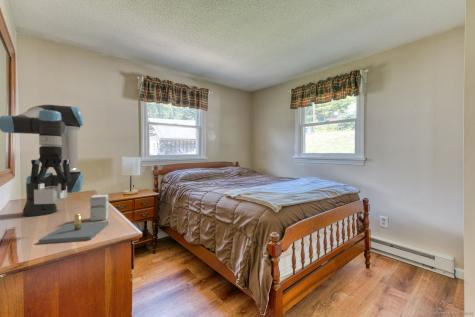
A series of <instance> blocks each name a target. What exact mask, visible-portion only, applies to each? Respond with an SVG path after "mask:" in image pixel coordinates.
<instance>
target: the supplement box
mask: <svg viewBox="0 0 475 317" xmlns="http://www.w3.org/2000/svg"><path fill="white" fill-rule="evenodd" d="M89 199H90V200H89V201H90V203H89V205H90V207H89V208H90V210H89V211H90V215H89V218H90V222H97V221H107V219H108V217H109V194H106V193H105V194H94V195H92V196H91V197H90V198H89Z"/></svg>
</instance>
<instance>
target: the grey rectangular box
mask: <svg viewBox="0 0 475 317" xmlns="http://www.w3.org/2000/svg"><path fill="white" fill-rule="evenodd" d="M67 199H68V193H67V186H66V190H64V198H61V199H59V192H58V186H49V187H45V188H40V189H36V190H34V204H54V203H55V204H57V203H59V202H62V201H65V200H67Z"/></svg>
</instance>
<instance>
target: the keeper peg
mask: <svg viewBox="0 0 475 317" xmlns="http://www.w3.org/2000/svg"><path fill="white" fill-rule="evenodd" d="M73 219H74V222H73V223H74V224H75V230H81V223H82V215H81V213H75V214H74V218H73Z"/></svg>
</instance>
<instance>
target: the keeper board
mask: <svg viewBox="0 0 475 317" xmlns="http://www.w3.org/2000/svg"><path fill="white" fill-rule="evenodd" d="M108 225H109V220H104V221H90V222H81V230H75V224H74V222H72V223H66V224H64V225H62V226H60V227H59V228H57V229H55V230H54V231H51V232H50V233H49V234H47V235H45V236H43V237H41V238H40V239H38V243H39V244H54V243H66V242H80V241H81V242H82V241H90V240H93V239H94V237H96V236H97V235H98V234H100V233H101V231H102V230H104V229H105V228H107V226H108Z"/></svg>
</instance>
